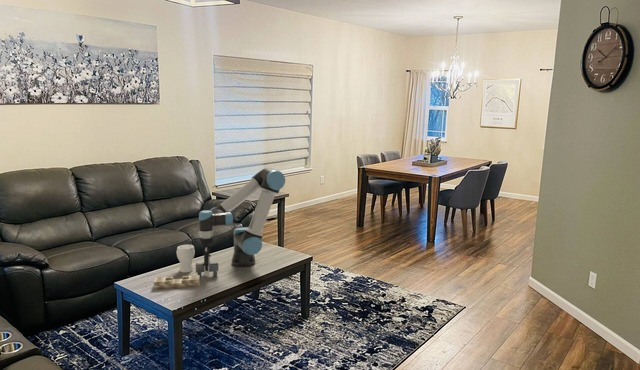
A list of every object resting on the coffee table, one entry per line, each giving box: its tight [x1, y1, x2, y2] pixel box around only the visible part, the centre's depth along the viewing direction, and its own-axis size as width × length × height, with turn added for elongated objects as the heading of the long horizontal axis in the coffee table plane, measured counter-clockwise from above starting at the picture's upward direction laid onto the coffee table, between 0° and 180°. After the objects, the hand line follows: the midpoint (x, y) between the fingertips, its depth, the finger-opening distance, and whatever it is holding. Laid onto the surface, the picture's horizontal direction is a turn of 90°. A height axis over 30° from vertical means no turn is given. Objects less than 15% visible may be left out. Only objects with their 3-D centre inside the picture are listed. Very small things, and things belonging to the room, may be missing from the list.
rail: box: [153, 274, 201, 290], centre depth 260 cm, size 24×7×4 cm, turn 102°
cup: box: [176, 244, 196, 273], centre depth 282 cm, size 11×11×15 cm
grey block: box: [195, 261, 219, 278], centre depth 274 cm, size 13×3×8 cm, turn 102°
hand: (207, 271), depth 274 cm, fingers open, 13 cm apart
